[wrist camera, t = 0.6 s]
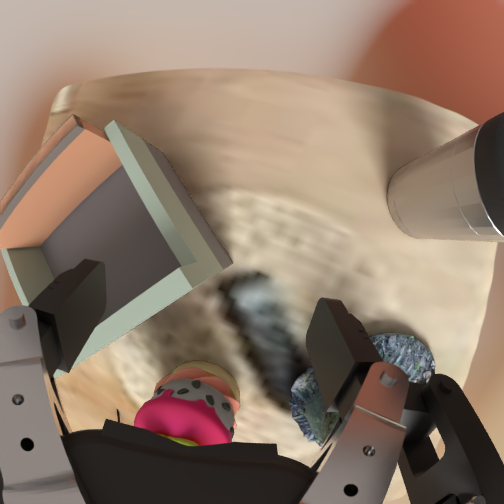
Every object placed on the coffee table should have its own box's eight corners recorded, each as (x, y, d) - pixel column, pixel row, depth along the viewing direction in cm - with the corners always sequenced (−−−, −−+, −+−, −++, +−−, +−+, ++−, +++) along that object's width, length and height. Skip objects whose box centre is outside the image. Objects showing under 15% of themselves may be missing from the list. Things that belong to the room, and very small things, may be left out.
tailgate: (135, 155, 27) (77, 125, 17) (40, 246, 29) (-20, 251, 19) (129, 146, 27) (72, 114, 17) (36, 237, 29) (-24, 239, 19)
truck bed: (233, 263, 33) (192, 288, 17) (114, 341, 35) (38, 390, 19) (163, 152, 33) (89, 103, 17) (60, 243, 35) (-26, 248, 19)
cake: (163, 411, 35) (118, 478, 20) (168, 348, 34) (109, 408, 19) (235, 430, 34) (216, 510, 19) (249, 368, 34) (230, 446, 19)
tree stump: (406, 439, 33) (415, 524, 16) (287, 417, 39) (247, 499, 22) (452, 335, 31) (506, 401, 14) (315, 309, 37) (283, 369, 20)
